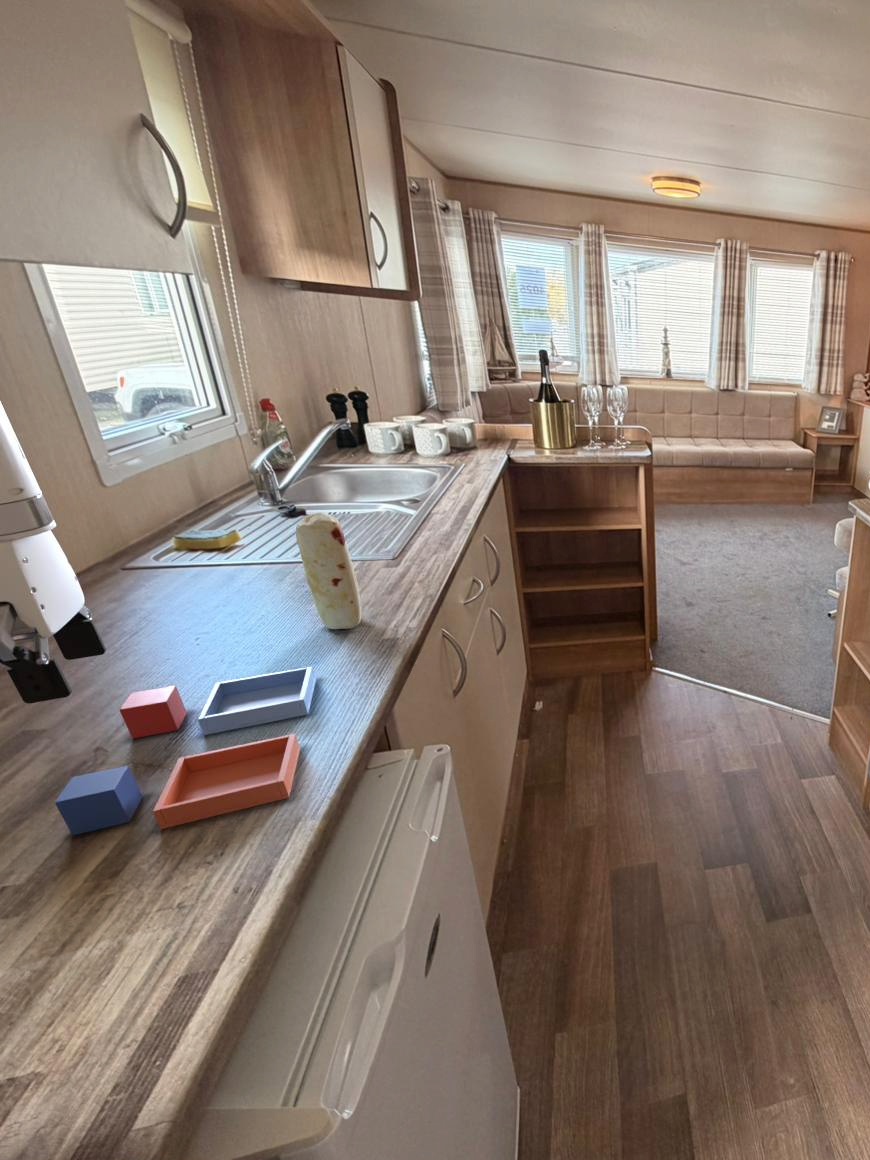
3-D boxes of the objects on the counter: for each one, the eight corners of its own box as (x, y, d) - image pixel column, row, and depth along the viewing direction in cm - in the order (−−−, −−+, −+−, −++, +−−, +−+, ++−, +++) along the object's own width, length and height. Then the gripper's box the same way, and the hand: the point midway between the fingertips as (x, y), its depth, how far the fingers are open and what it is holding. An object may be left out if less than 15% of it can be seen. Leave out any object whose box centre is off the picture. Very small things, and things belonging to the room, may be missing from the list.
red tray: (160, 829, 69) (152, 811, 68) (185, 774, 77) (178, 757, 76) (289, 797, 74) (283, 780, 73) (300, 749, 82) (295, 733, 81)
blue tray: (203, 735, 84) (197, 719, 83) (221, 697, 92) (215, 682, 91) (308, 714, 89) (303, 699, 88) (316, 680, 97) (311, 666, 96)
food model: (376, 625, 114) (349, 518, 106) (332, 637, 109) (301, 526, 101) (355, 609, 120) (329, 506, 112) (313, 620, 115) (283, 513, 107)
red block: (132, 739, 82) (118, 709, 80) (143, 721, 86) (130, 692, 84) (178, 730, 84) (166, 701, 83) (187, 712, 88) (175, 685, 86)
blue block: (72, 835, 67) (54, 802, 66) (88, 809, 71) (72, 776, 69) (129, 822, 69) (114, 789, 68) (143, 796, 73) (128, 765, 71)
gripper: (-22, 500, 65) (52, 649, 71) (-131, 552, 51) (-27, 729, 58) (81, 493, 68) (142, 635, 75) (5, 539, 55) (88, 708, 61)
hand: (69, 676), depth 66 cm, fingers open, 9 cm apart
